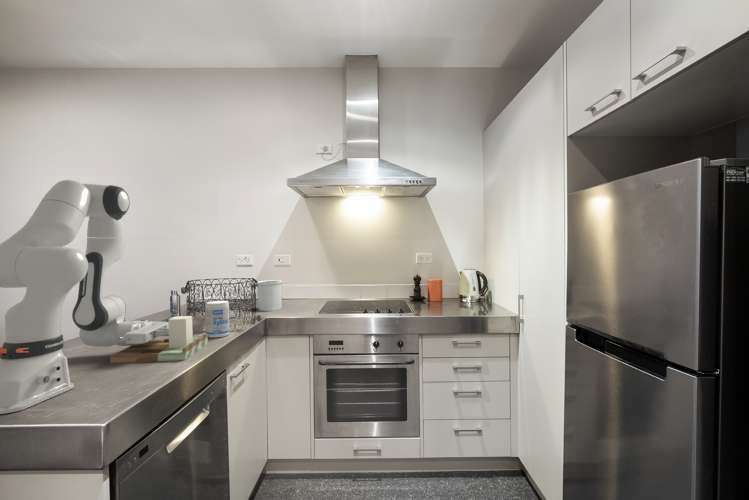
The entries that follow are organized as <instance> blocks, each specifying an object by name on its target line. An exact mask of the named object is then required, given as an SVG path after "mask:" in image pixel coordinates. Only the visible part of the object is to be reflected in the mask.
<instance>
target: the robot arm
mask: <svg viewBox="0 0 749 500" xmlns="http://www.w3.org/2000/svg"><path fill="white" fill-rule="evenodd" d="M130 201H131V200H130V197H129V194H128V192H127V191H126V190H125V189H124V188H122V187H121V186H117V185H112V184H111V185H107V184H106V185H105V184H95V183H94V184H93V183H81V182H79V181H76V180H71V179H64V180H60V181H58V182H56V183H54V185H53V186H52V187H51V188H50V189H49V190H48V191H47V193H45V195H44V196H43V197H42V199H41V201H40V202H39V204H38V206H37V207H36V209H35V211H34V212H33V213H32V215H31V216H30V218H29V219H28V221H27V222H26V223H25V224H24V225H23V226H22V227H21V228H20V229H19V230H17V232H15V233H14V234H12V235H11V236H10V237H9V238H7V239H6V240H4V241H2V242H1V243H0V288H2V289H3V288H4V289H15V288H16V289H17V288H26V291H25V294H24V297H23V298H22V300H21V301H20V302H19V303H16V304H14V305H13V306H11V307H10V308H9V309H7V311H6V313H5V315H4V327H5V328H4V329H5V330H4V333H5V335H4V336H5V341H4V342H3V344H2V347H0V415H3V414H8V413H15V412H20V411H22V410H25V409H28V408H29V407H33V406H34V405H37V404H40V403H43V401H46V400H49V399H51V398H53V397H56V396H58V395H60V394H63V393H65V392H67V391H70V390H73V389H74V388H75V384H74V383H73V382H72V381H71V379H70V370H69V364H68V363H69V362H68V358H67V357H66V356H65V354H64V352H63V348H64V341H65V340H64V335H63V334H62V310H63V309H62V308H63V305H64V302H65V300H66V298H67V296H68V294H69V293H70V291H71V290H72V288H74V287H75V286H76V285H77V284H78V285H79V286H78V294H77V301H76V302H75V305H74V307H73V309H72V314H71V317H72V321H73V323H74V325H75V326H76V327H77V328H79V331H78V332H79V335H78V336H79V339H80V341H81V342H82V344H84V345H85V346H88V347H96V348H99V347H100V348H103V347H104V348H106V347H107V348H108V347H112V346H118V347H130V346H133V345H138V344H144V343H147V342H149V341H151V340H153V339H158V338H159V337H163V336H169V323H168V321H160V320H159V321H154V320H153V321H149V320H148V319H143V320H125V318H126V309H127V306H126V302H125V301H124V300H123V298H121V297H119V296H117V295H107V296H104V297H102V294H103V283H104V277H105V273H106V271H107V270H108V269H109V268H110V267H111V266H112V265H113V264H115V263H116V262H117V261H119V260H121V258H122V257H123V256H124V253H125V247H126V234H125V233H126V231H125V224H124V219H123V217H124V216H125V215H126V214H127V212H128V210H129V208H130V203H131V202H130ZM86 217H88V223H87V229H86V230H87V231H86V232H87V233H86V250H85V254H84V253H83V252H82V251H81V250H79V249H76V248H71V247H65V246H66V245H69V244H71V243H72V242H73V241H74V240H75V238H76V237H77V235H78V233H79V231H80V228H81V226H82V225H83V222H84V221H85V218H86Z"/></svg>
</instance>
